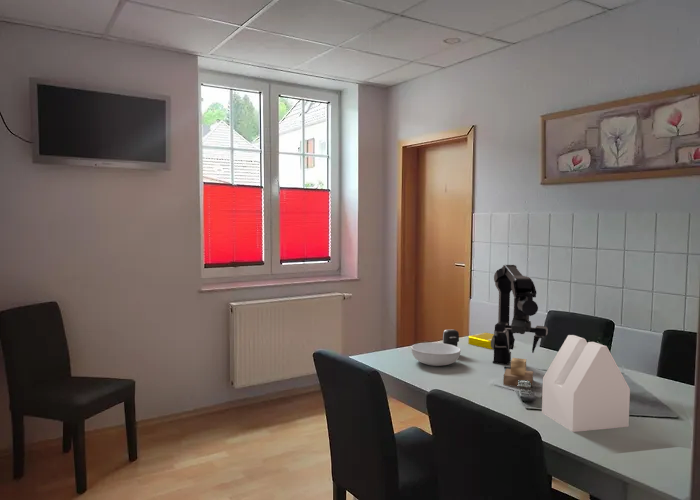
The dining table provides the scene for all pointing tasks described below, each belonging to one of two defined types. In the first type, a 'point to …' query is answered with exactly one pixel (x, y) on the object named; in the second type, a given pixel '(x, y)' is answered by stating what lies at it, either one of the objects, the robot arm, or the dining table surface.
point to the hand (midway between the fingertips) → (520, 351)
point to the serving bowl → (435, 353)
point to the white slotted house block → (585, 388)
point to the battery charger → (451, 337)
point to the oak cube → (518, 366)
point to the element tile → (481, 340)
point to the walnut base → (516, 377)
